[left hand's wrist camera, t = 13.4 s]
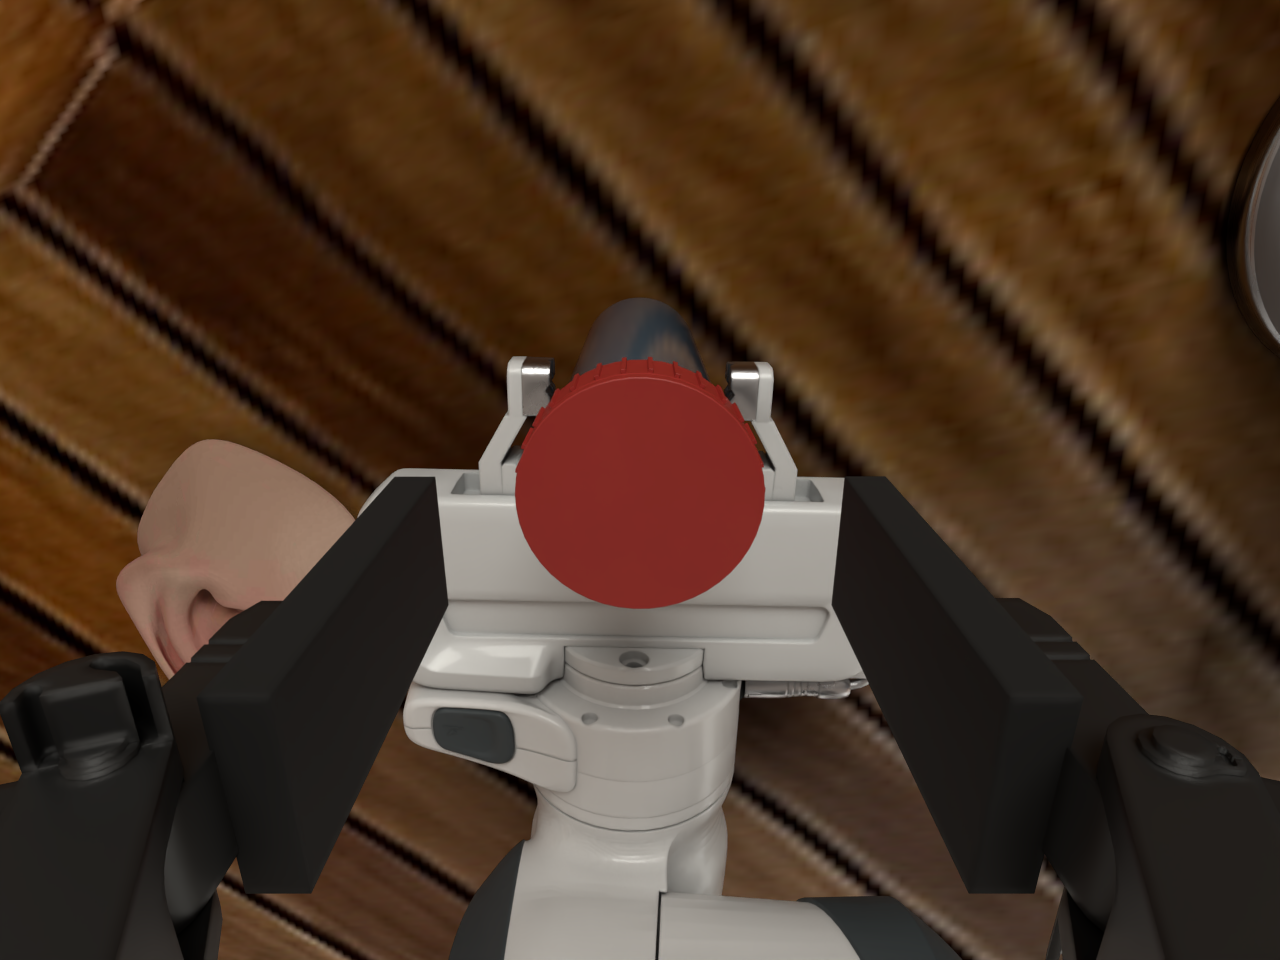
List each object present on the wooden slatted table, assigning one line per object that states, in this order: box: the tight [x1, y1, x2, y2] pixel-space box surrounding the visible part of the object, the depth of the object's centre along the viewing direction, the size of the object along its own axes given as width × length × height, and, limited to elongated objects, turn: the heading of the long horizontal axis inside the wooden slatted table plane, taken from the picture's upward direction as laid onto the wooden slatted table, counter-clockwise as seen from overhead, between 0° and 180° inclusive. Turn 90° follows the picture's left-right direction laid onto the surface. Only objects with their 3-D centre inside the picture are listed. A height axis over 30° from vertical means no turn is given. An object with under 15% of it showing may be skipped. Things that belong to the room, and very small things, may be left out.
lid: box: [515, 357, 766, 609], centre depth 17 cm, size 6×6×2 cm
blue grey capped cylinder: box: [569, 298, 711, 383], centre depth 24 cm, size 5×5×16 cm
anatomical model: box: [116, 439, 355, 680], centre depth 34 cm, size 13×4×12 cm
